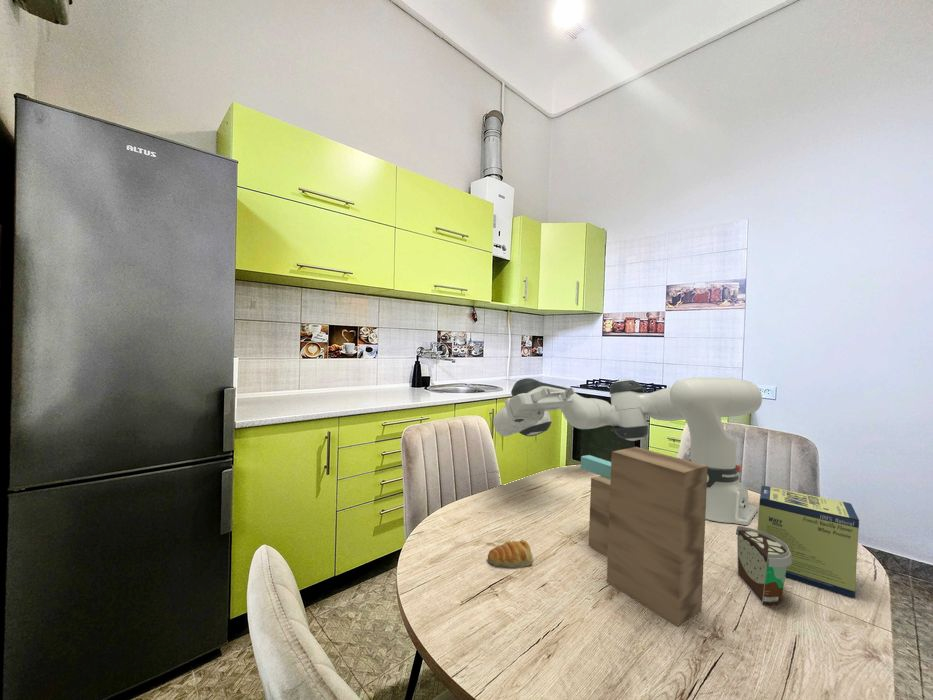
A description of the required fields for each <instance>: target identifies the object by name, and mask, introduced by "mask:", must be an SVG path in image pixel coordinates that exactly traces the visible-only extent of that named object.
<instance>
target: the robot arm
mask: <svg viewBox="0 0 933 700" xmlns="http://www.w3.org/2000/svg"><path fill="white" fill-rule="evenodd" d="M646 390H647V388H646V387H645V386H642V385H641V383H640V382H637V381H636V380H632V379H628V378H627V379H626V378H624V379H619V380H616V381H615V382H613V383H611V384H610V386H609V394H610V403H609V402H608V401H606V400H603V399H601V398H600V399H599V398H595V397H593V398H592V397H589V398H588V397H584V396H582V395H579V394H578V393H576V392H575V389H574V387H565V386H560V385H556V384H551V383H546V382H542V381H539V380H536V379H534V378H530V377H528V378H527V377H526V378H522V379H521V378H520V379H519V380H516V382H515V383H514V385H513V386H512V389H511V391H510V394H511V395H512V397H511V398H507V399H505V400H504V404H505V406H504V407H503V408H501V409H500V410H499V411H498V412H497V413H496V414H495V415H494V416H493V421H492V422H493V425H494V429H495V431H496V432H497V434H498V435H500V436H501V437H508V436H512V435H514V434H519V435H523V436H524V437H534V436H539V435H541V434H542V433H545V432H547V431H548V430H549V428H550V427H551V425H552V419H551V418H552V417H551V416H550V414H551V413H550V412H551V411H557V410H560V411H561V412H562V415H563V417H564V418H565V419H566V421H567V422H568V424H569V425H570V426H572V427H573V428H576V429H579V430H591V429H597V428H602V427H606V426H611V427H612V429H610V431H611V432H614V434H616V436H617V437H619V438H621V439H622V440H627V441H630V442H633V441H639V440H641V439H643V438H645V437H647V436H648V433H649V426H648V424H647V423H648V422H647V421H648V419H647V416H648V417H649V418H650V419H653V420H657V421H663V422H672V421H673V422H674V421H683V420H684V421H685V422H686V424H687V426H688V427H687V428H688V430H689V435H690V436H689V437H690V457H689V459H688V461H691V462H695V463H699V464H703V465H706V466H707V490H706V514H705V520H709V521H714V522H719V523H728V524H729V523H731V524H737V525H741V526H743V525H744V526H747V525H748V526H749V524H750V523H751V521H752V520H753V519H752V518H754V517H755V516H754V515H756V514H757V513H758V507H757V506H755V505H753V504H751V503H749V491H748V489H747V488H746V487H745V486H744V485H743V484H742V483H741V482H740V481H739V478H740V477H739V473H741V472H742V466H741V465H740V464H737V463H736V462H737V461H736V460H737V440H736V438H735V436H734V435H733V434H731V433H730V432H729V431H727V430H725V428H724V426H723V423H722V418H730V417H732V418H733V417H741V416H745V415H751V414H754V413H756V412H757V411H759V409H760V407H761V405H762V403H763V395H762V392H761V390H760V388H759V387H758V386H757V385H756V384H755V383H753V382H752V381H748V380H744V379H740V378H736V377H731V378H730V377H704V376H703V377H695V376H693V377H688V378H687V377H686V378H683V379H679V380H676V381H675V382H674V383H673V384H672V386H670V387H669V386H668V387H665V388H662V389H661V388H660V389H658V390H655V391H652V392H646ZM756 512H757V513H756Z"/></svg>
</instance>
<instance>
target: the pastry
mask: <svg viewBox="0 0 933 700" xmlns="http://www.w3.org/2000/svg"><path fill="white" fill-rule="evenodd" d="M487 560H488V562H489V563H490V564H492V565H493V566H496V567H497V566H498V567H499V568H500V567H501V566H502V567H503V568H509V569H513V568H524V567H530V566H531V565H532V564H533V563H534V557H533V553H532V551H531V545H530V544H529V543H528V541H527V540H526V541H525V540H523V539H521V540H520V541H509V540H508V541H506V542H504V543H503V544H501V545H497V546H495V547H493V548H492V549H490V550H489V551H488V554H487Z"/></svg>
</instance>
